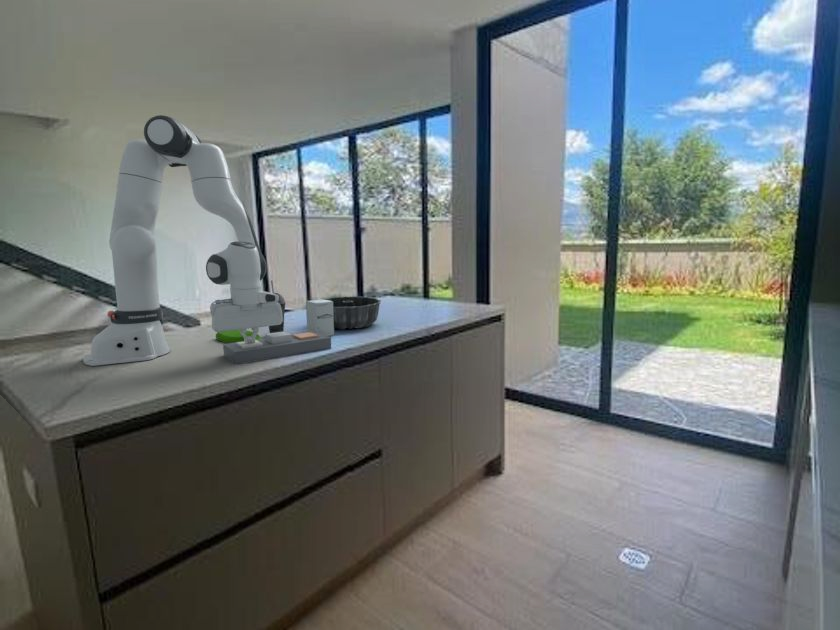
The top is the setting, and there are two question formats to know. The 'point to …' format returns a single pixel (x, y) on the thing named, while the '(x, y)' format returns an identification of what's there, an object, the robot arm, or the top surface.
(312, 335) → the terracotta key
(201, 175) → the robot arm
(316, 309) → the supplement box
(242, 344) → the ivory key
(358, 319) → the bundt pan
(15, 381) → the top surface
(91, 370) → the top surface
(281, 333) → the grey key
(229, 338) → the green rounded slab
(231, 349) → the keypad
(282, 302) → the beverage cup
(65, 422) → the top surface
